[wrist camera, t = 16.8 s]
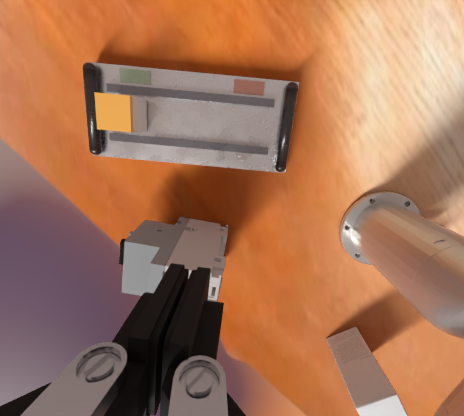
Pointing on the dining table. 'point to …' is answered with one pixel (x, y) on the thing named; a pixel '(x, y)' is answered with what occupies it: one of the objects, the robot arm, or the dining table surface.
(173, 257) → the circuit breaker
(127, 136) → the panel
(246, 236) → the dining table surface
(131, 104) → the toggle
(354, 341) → the small box
